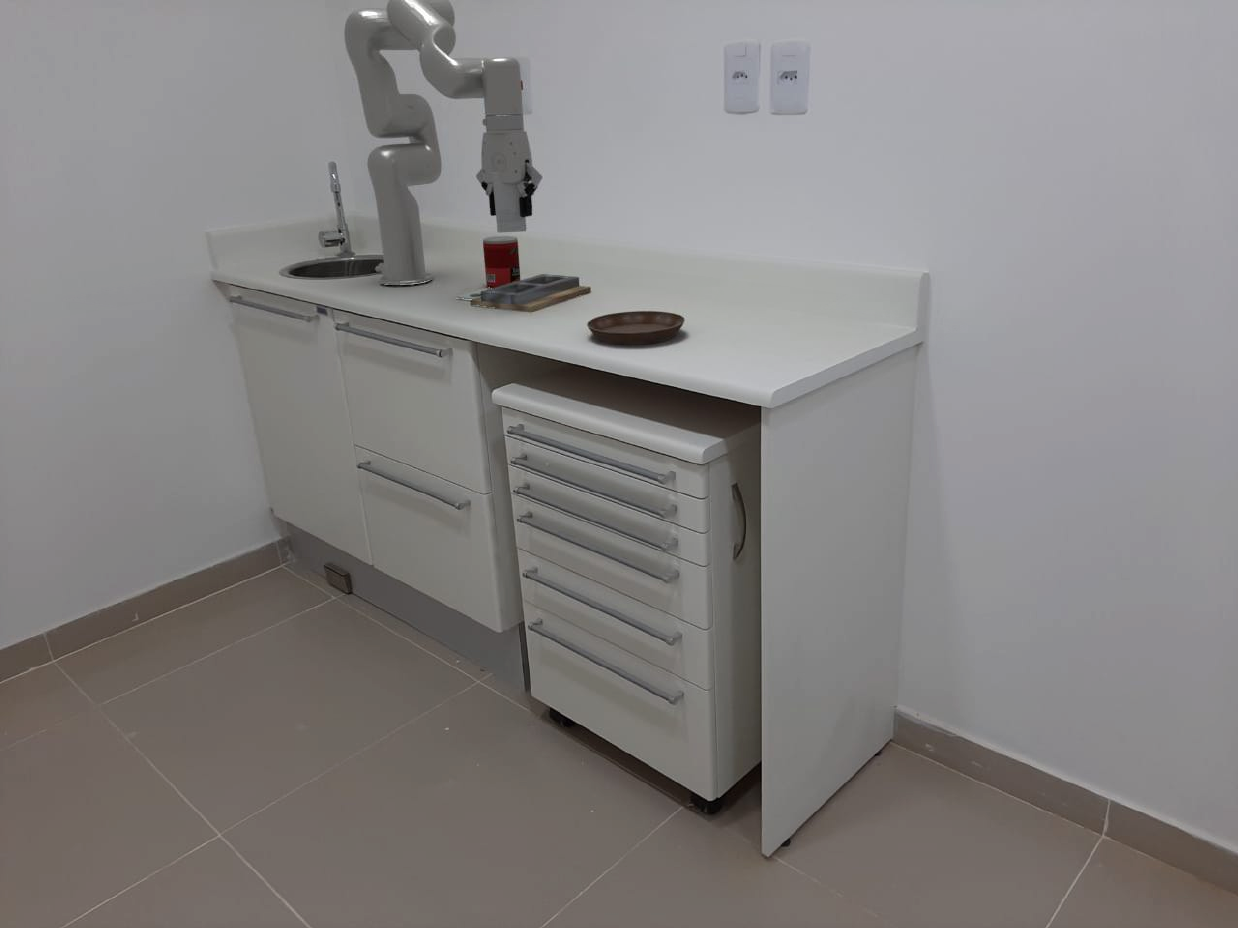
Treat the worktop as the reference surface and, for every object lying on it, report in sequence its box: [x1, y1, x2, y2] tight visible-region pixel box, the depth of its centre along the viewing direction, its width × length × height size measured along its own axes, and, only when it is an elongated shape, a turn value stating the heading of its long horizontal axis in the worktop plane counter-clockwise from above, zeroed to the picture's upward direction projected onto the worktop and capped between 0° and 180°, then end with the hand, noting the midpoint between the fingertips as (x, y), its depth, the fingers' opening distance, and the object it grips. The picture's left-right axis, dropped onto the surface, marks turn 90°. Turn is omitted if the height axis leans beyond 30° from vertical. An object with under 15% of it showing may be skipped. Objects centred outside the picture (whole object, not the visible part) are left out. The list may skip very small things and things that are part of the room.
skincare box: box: [492, 172, 527, 233], centre depth 198 cm, size 6×4×12 cm
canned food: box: [482, 235, 521, 289], centre depth 222 cm, size 8×8×11 cm
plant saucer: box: [586, 310, 685, 346], centre depth 175 cm, size 18×18×3 cm
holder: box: [469, 273, 592, 313], centre depth 209 cm, size 16×22×3 cm
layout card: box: [455, 287, 489, 299], centre depth 214 cm, size 7×10×1 cm
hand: (511, 215), depth 199 cm, fingers closed on skincare box, 7 cm apart
